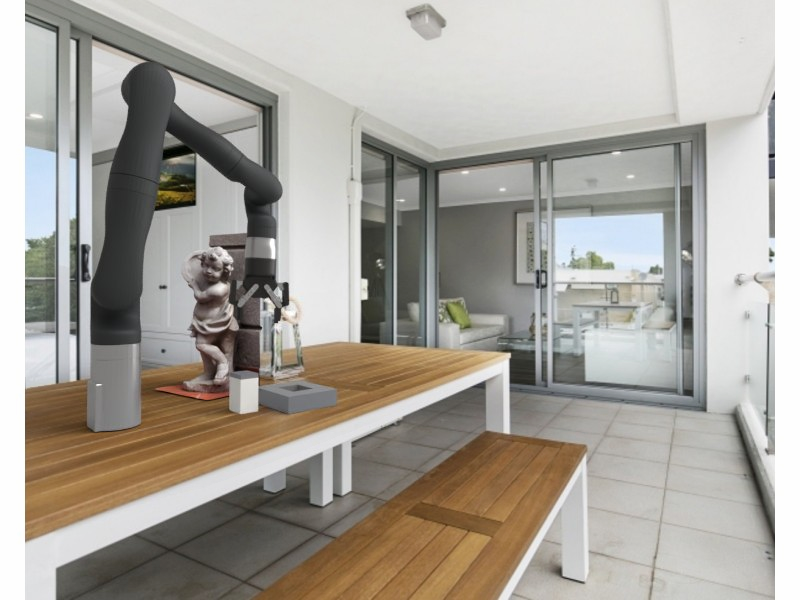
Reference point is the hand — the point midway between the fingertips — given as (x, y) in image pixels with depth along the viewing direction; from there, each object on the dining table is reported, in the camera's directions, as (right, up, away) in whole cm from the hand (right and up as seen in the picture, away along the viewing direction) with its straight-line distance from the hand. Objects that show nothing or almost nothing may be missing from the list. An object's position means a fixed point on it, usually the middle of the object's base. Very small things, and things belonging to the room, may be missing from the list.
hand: (258, 323), depth 124 cm
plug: (-2, -21, -5) cm, 21 cm away
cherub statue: (-19, -20, +18) cm, 33 cm away
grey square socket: (+8, -21, +3) cm, 22 cm away
